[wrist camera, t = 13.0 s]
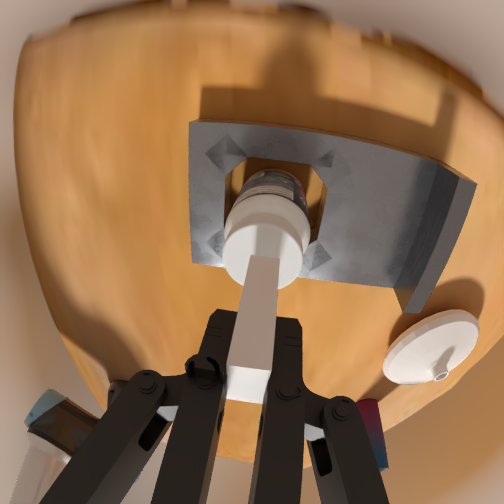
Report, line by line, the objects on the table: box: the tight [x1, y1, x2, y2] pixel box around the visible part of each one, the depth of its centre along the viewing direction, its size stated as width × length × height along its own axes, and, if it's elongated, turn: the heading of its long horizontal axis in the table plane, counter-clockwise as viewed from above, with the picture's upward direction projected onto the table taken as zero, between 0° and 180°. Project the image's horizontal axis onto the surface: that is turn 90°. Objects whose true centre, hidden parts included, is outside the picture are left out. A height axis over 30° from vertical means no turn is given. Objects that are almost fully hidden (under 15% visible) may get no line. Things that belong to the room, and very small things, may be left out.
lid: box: [383, 309, 480, 385], centre depth 29 cm, size 16×16×7 cm
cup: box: [356, 399, 388, 472], centre depth 37 cm, size 7×7×15 cm
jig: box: [189, 119, 477, 314], centre depth 21 cm, size 22×13×6 cm, turn 86°
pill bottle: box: [222, 169, 311, 289], centre depth 20 cm, size 6×6×10 cm
